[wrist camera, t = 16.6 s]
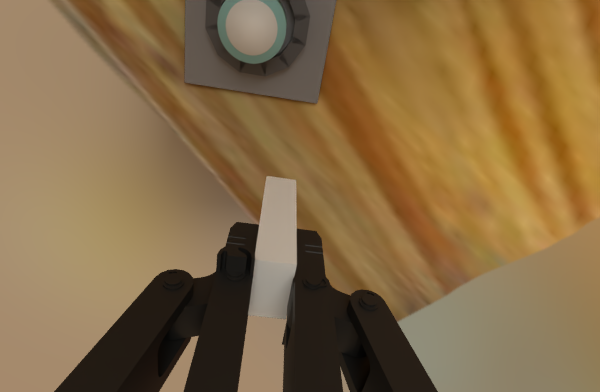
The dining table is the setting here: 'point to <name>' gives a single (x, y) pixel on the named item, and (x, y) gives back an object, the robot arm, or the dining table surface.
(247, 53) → the cap
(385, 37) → the dining table surface
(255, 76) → the square plate with ring
